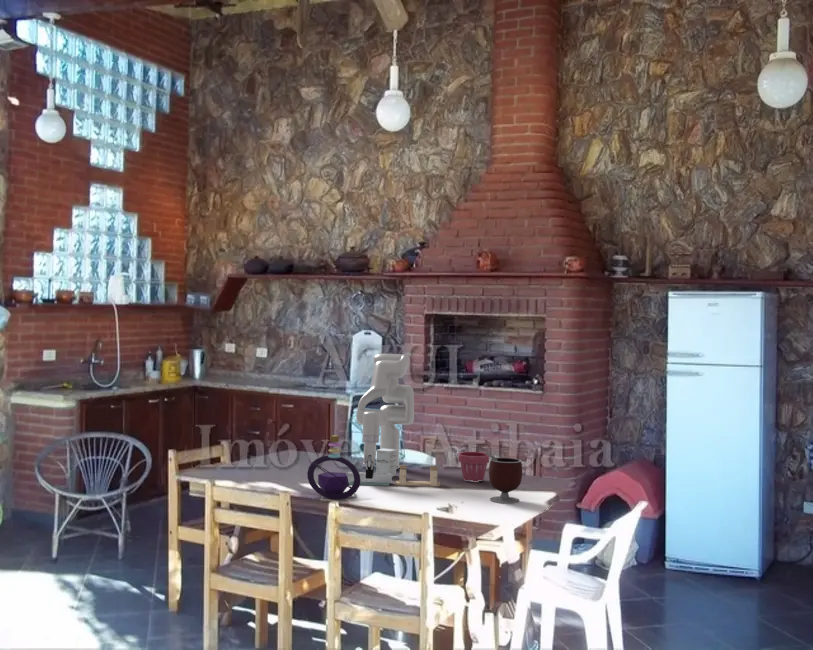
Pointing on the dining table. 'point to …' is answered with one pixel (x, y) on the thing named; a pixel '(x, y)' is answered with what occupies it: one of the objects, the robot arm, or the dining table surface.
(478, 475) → the plant pot
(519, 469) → the mate gourd
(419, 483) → the rack
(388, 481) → the block
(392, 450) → the supplement box
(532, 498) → the dining table surface
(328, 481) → the decorative bottle
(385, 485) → the mat
